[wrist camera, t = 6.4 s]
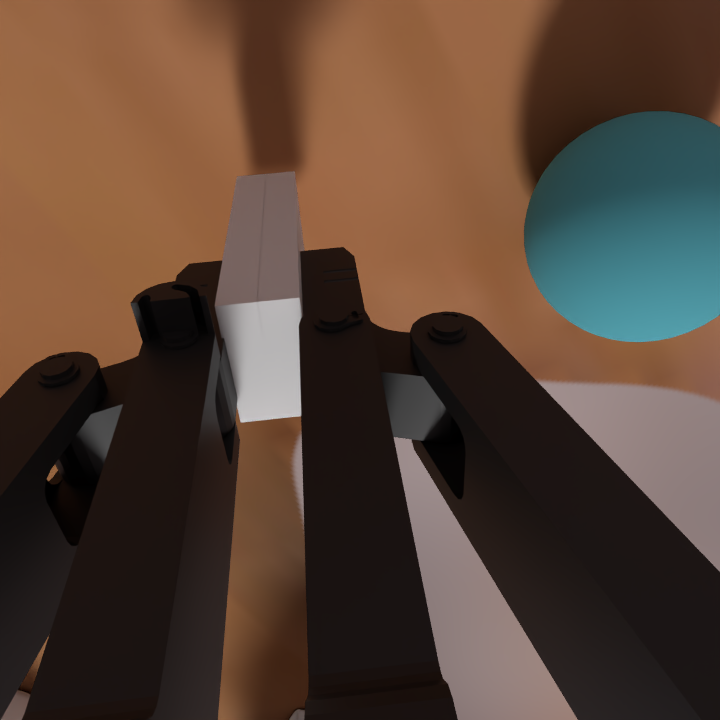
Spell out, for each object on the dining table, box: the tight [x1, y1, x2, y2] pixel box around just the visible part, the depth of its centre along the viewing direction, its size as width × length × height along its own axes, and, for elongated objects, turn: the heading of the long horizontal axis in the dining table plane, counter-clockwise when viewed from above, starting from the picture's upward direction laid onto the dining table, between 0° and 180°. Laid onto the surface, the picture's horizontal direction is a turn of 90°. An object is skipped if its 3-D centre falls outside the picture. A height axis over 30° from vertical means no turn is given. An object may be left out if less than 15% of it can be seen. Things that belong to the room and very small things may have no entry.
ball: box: [524, 111, 720, 342], centre depth 17 cm, size 6×6×6 cm
